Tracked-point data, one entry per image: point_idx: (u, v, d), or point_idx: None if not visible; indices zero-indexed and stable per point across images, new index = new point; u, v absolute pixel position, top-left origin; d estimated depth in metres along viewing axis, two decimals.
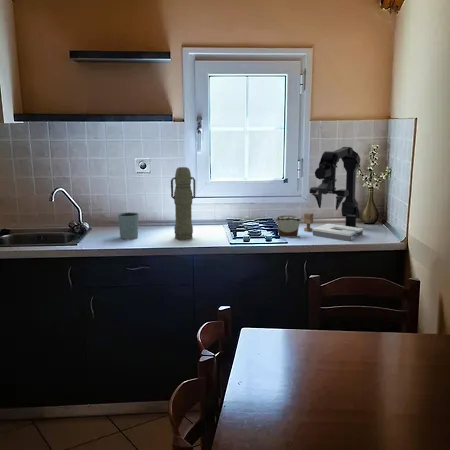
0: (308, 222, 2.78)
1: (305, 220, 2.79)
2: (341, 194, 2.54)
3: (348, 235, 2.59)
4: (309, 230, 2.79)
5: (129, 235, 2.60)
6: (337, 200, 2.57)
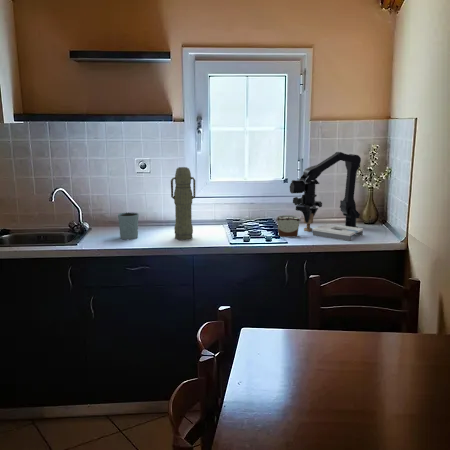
0: (308, 222, 2.78)
1: None
2: None
3: (348, 235, 2.59)
4: (309, 230, 2.79)
5: (129, 235, 2.60)
6: None
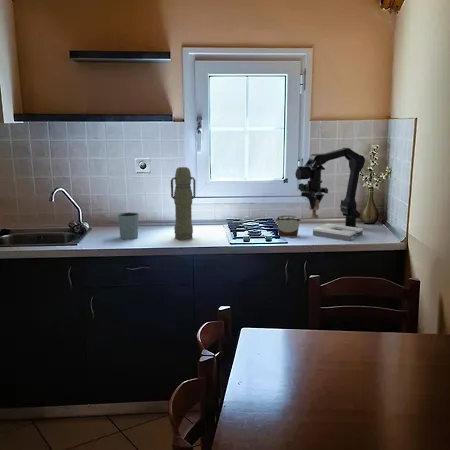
0: (314, 208, 2.75)
1: None
2: None
3: (348, 235, 2.59)
4: (315, 217, 2.76)
5: (129, 235, 2.60)
6: None
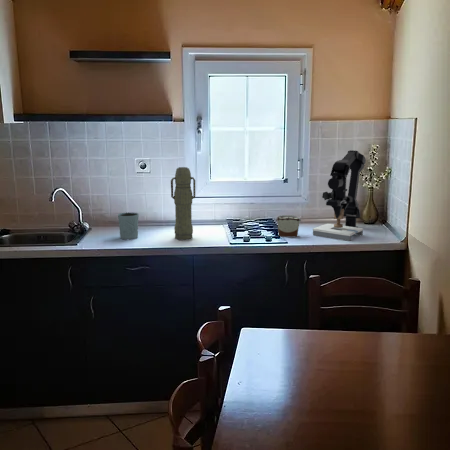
0: (338, 218, 2.68)
1: None
2: None
3: (348, 235, 2.59)
4: (339, 226, 2.68)
5: (129, 235, 2.60)
6: None
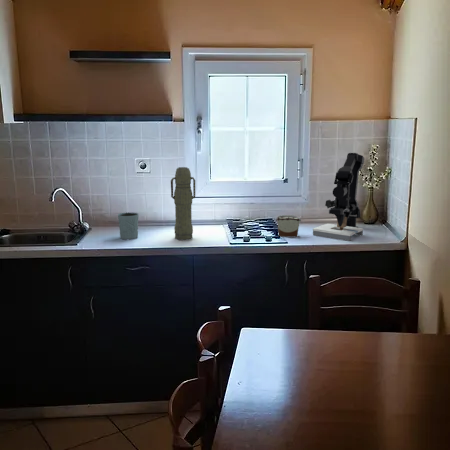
0: (341, 226, 2.67)
1: None
2: None
3: (348, 235, 2.59)
4: None
5: (129, 235, 2.60)
6: None
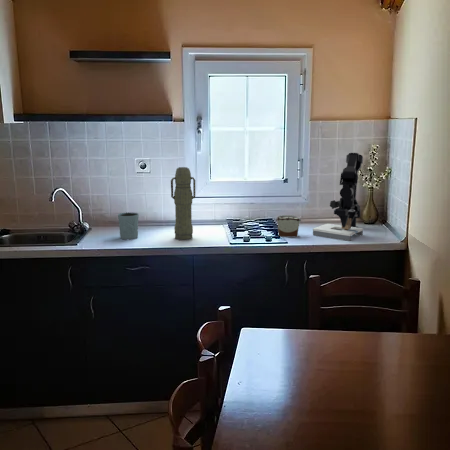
0: (346, 227, 2.66)
1: None
2: None
3: (348, 235, 2.59)
4: None
5: (129, 235, 2.60)
6: None
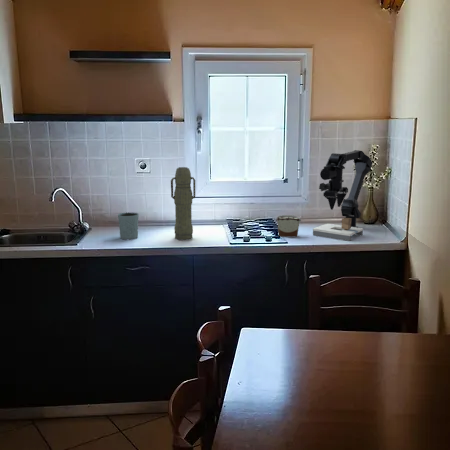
0: (346, 227, 2.66)
1: (343, 225, 2.67)
2: None
3: (348, 235, 2.59)
4: None
5: (129, 235, 2.60)
6: None
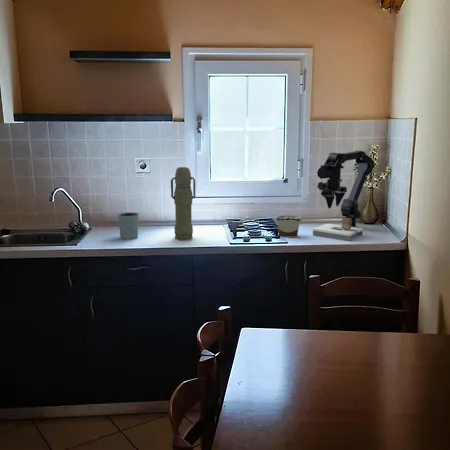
0: (346, 227, 2.66)
1: (343, 225, 2.67)
2: None
3: (348, 235, 2.59)
4: None
5: (129, 235, 2.60)
6: None
